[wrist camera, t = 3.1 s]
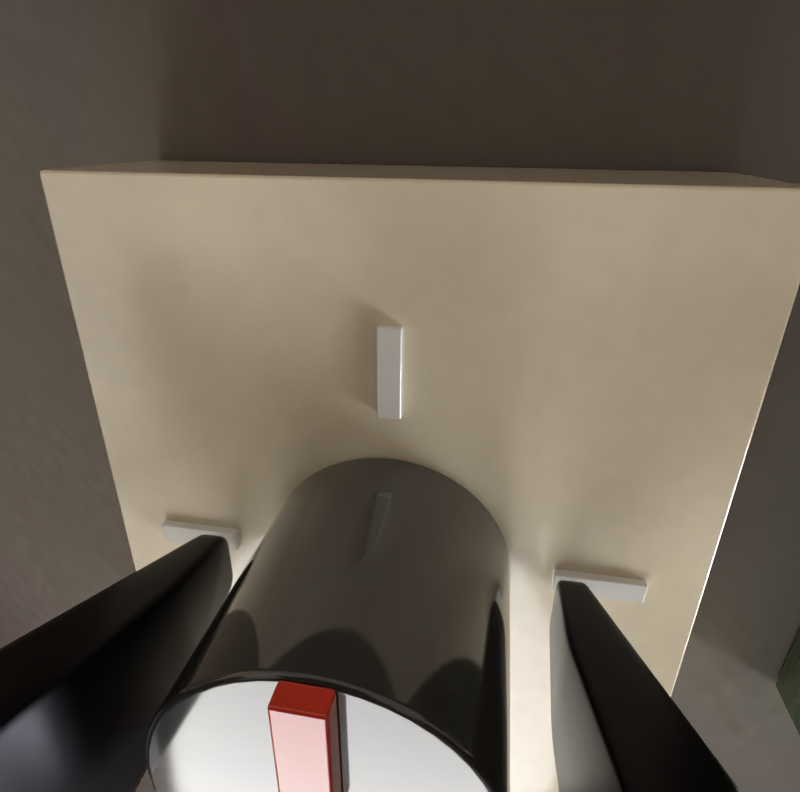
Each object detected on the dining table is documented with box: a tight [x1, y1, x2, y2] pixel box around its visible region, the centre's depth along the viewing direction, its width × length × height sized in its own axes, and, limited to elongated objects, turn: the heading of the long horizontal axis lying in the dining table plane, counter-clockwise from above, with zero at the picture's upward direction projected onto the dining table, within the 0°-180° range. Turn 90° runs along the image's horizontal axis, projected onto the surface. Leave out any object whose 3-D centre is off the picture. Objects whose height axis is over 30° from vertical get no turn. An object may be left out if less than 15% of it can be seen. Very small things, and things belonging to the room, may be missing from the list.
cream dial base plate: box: [40, 161, 800, 792], centre depth 11 cm, size 12×10×3 cm
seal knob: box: [146, 457, 510, 792], centre depth 8 cm, size 4×4×4 cm
